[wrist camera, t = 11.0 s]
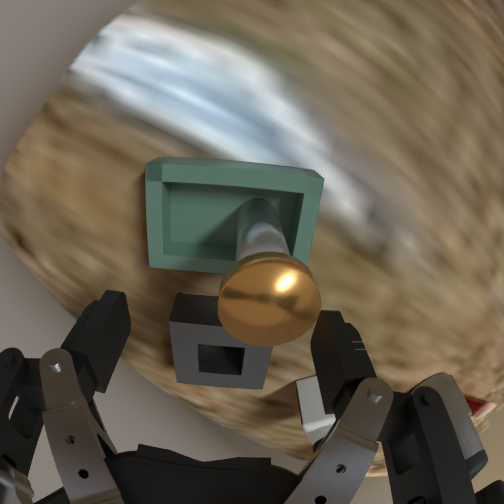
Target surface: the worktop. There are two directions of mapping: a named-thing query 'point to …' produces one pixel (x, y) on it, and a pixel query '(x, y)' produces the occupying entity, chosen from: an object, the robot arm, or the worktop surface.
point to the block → (212, 347)
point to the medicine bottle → (313, 411)
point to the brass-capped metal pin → (266, 283)
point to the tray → (222, 209)
